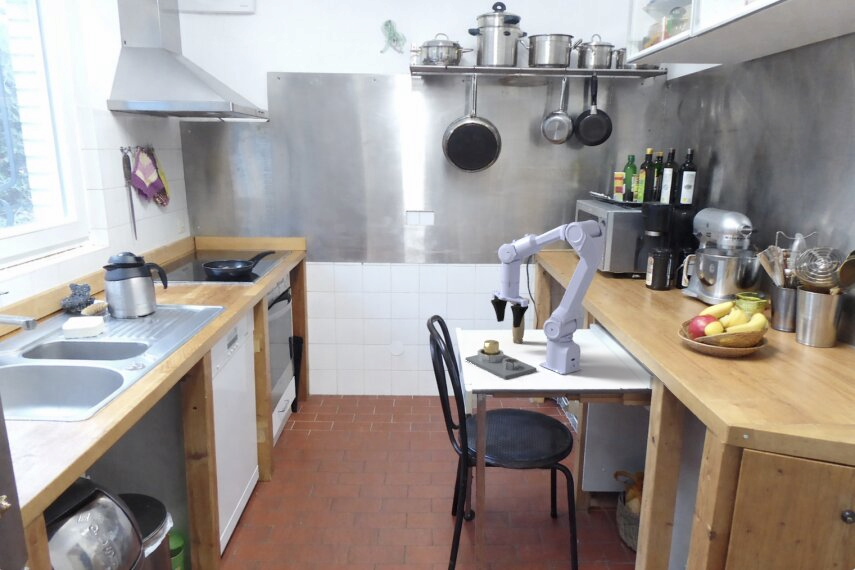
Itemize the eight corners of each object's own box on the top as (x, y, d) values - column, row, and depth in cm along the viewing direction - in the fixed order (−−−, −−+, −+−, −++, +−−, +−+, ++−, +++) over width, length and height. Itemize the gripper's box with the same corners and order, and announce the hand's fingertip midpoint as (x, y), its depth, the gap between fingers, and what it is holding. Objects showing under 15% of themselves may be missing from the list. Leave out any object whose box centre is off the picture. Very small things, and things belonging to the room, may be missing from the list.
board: (536, 371, 164) (536, 367, 164) (504, 379, 158) (504, 376, 158) (495, 353, 179) (495, 350, 179) (465, 360, 173) (465, 357, 172)
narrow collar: (521, 368, 164) (521, 361, 164) (509, 371, 162) (509, 364, 161) (510, 363, 168) (511, 356, 167) (499, 366, 165) (499, 359, 165)
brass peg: (501, 358, 172) (502, 343, 170) (490, 361, 169) (491, 345, 168) (491, 354, 175) (491, 339, 174) (480, 357, 172) (481, 341, 171)
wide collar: (508, 359, 171) (508, 353, 170) (488, 364, 167) (488, 357, 166) (491, 352, 177) (492, 346, 177) (472, 357, 173) (472, 350, 173)
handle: (528, 344, 188) (530, 300, 185) (509, 344, 188) (511, 300, 185) (526, 340, 193) (528, 297, 190) (507, 340, 193) (509, 297, 190)
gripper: (485, 279, 179) (483, 320, 182) (516, 287, 168) (514, 331, 170) (502, 276, 183) (500, 317, 186) (533, 285, 171) (531, 328, 174)
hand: (508, 324), depth 178 cm, fingers open, 7 cm apart
